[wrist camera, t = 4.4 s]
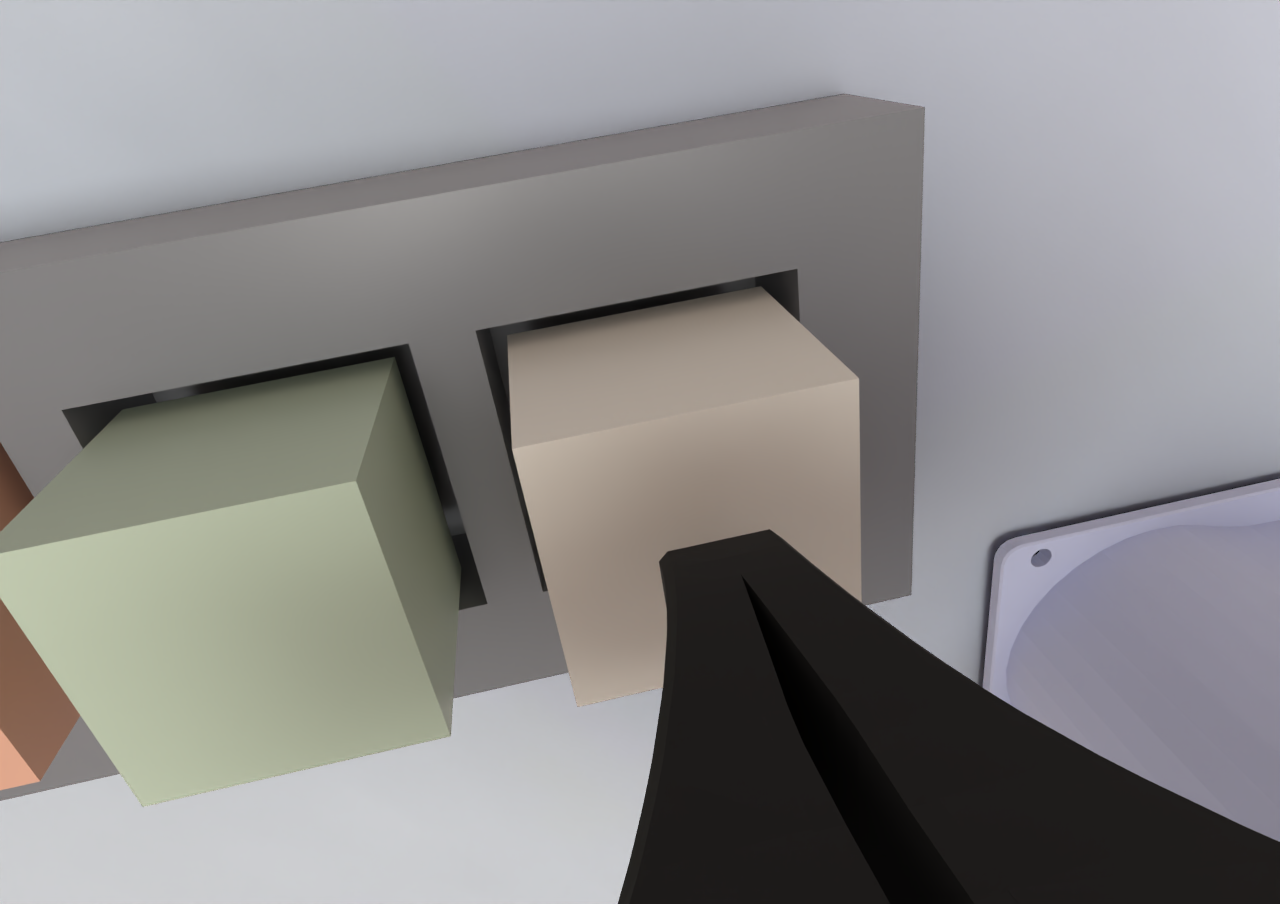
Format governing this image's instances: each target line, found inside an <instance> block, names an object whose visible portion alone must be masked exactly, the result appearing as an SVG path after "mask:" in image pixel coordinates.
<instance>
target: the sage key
mask: <svg viewBox="0 0 1280 904" xmlns="http://www.w3.org/2000/svg"><path fill="white" fill-rule="evenodd" d="M460 581H461V565H460V562H459V559H458V556H457V553H456V550H455V546H454V543H453V540H452V537H451V534H450V531H449V527H448V524H447V521H446V518H445V515H444V512H443V508H442V505H441V502H440V499H439V496H438V493H437V489H436V486H435V483H434V480H433V477H432V474H431V470H430V467H429V464H428V461H427V458H426V455H425V451H424V448H423V445H422V442H421V439H420V436H419V432H418V429H417V426H416V423H415V420H414V417H413V413H412V410H411V407H410V404H409V401H408V398H407V394H406V391H405V388H404V385H403V382H402V379H401V375H400V372H399V369H398V366H397V363H396V360H395V357H391V358H386V359H381V360H376V361H371V362H365V363H360V364H355V365H350V366H345V367H340V368H334V369H329V370H324V371H319V372H314V373H308V374H303V375H298V376H293V377H288V378H283V379H277V380H272V381H267V382H262V383H257V384H252V385H246V386H241V387H236V388H231V389H226V390H220V391H215V392H210V393H205V394H200V395H195V396H189V397H184V398H179V399H174V400H169V401H163V402H158V403H153V404H148V405H143V406H138V407H132V408H127V409H123V410H122V411H121V412H120V413H119V414H118V415H117V416H116V417H115V418H114V419H113V420H112V421H111V422H110V423H109V424H108V425H107V426H106V427H105V428H104V429H103V430H102V431H101V432H100V433H99V434H98V435H97V436H96V437H95V438H94V439H93V440H92V441H91V442H90V443H89V444H88V445H87V446H86V447H85V448H84V449H83V450H82V451H81V452H80V453H79V454H78V455H77V456H76V457H75V458H74V459H73V460H72V461H71V462H70V463H69V464H68V465H67V466H66V467H65V468H64V469H63V470H62V471H61V472H60V473H59V474H58V475H57V476H56V477H55V478H54V479H53V480H52V481H51V482H50V483H49V484H48V485H47V486H46V487H45V488H44V489H43V490H42V491H41V492H40V493H39V494H38V495H37V496H36V497H35V498H34V499H33V500H32V501H31V502H30V503H29V504H28V505H27V506H26V507H25V508H24V509H23V510H22V511H21V512H20V513H19V514H18V515H17V516H16V517H15V518H14V519H13V520H12V521H11V522H10V523H9V524H8V525H7V526H6V527H5V528H4V529H3V530H2V531H1V532H0V598H1V600H2V601H3V603H4V604H5V606H6V607H7V609H8V610H9V612H10V613H11V614H12V616H13V617H14V619H15V620H16V622H17V623H18V625H19V626H20V628H21V629H22V631H23V632H24V633H25V635H26V636H27V638H28V639H29V641H30V642H31V644H32V645H33V647H34V648H35V650H36V651H37V653H38V654H39V655H40V657H41V658H42V660H43V661H44V663H45V664H46V666H47V667H48V669H49V670H50V672H51V673H52V674H53V676H54V677H55V679H56V680H57V682H58V683H59V685H60V686H61V688H62V689H63V691H64V692H65V694H66V695H67V696H68V698H69V699H70V701H71V702H72V704H73V705H74V707H75V708H76V710H77V711H78V713H79V714H80V715H81V717H82V718H83V720H84V721H85V723H86V724H87V726H88V727H89V729H90V730H91V732H92V733H93V735H94V736H95V737H96V739H97V740H98V742H99V743H100V745H101V746H102V748H103V749H104V751H105V752H106V754H107V755H108V756H109V758H110V759H111V761H112V762H113V764H114V765H115V767H116V768H117V770H118V771H119V773H120V774H121V776H122V777H123V778H124V780H125V781H126V783H127V784H128V786H129V787H130V789H131V790H132V792H133V793H134V795H135V796H136V797H137V799H138V800H139V802H140V803H141V805H142V806H143V807H144V806H148V805H153V804H157V803H162V802H166V801H170V800H175V799H179V798H183V797H188V796H192V795H196V794H201V793H205V792H209V791H214V790H218V789H223V788H227V787H231V786H236V785H240V784H244V783H249V782H253V781H257V780H262V779H266V778H271V777H275V776H279V775H284V774H288V773H292V772H297V771H301V770H305V769H310V768H314V767H318V766H323V765H327V764H332V763H336V762H340V761H345V760H349V759H353V758H358V757H362V756H366V755H371V754H375V753H379V752H384V751H388V750H393V749H397V748H401V747H406V746H410V745H414V744H419V743H423V742H427V741H432V740H436V739H441V738H445V737H449V736H451V724H452V708H453V692H454V676H455V660H456V645H457V629H458V613H459V597H460Z"/></svg>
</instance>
